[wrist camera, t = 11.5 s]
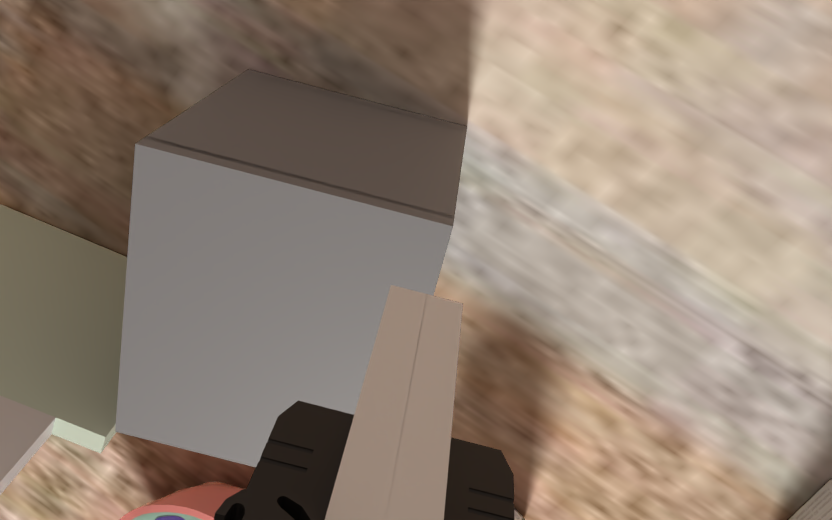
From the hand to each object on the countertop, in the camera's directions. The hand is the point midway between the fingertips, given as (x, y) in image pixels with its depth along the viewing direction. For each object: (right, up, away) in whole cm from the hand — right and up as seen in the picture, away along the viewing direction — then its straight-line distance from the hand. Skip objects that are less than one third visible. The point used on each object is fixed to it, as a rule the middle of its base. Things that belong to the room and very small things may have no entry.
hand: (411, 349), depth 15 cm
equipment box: (-5, +5, +34) cm, 35 cm away
